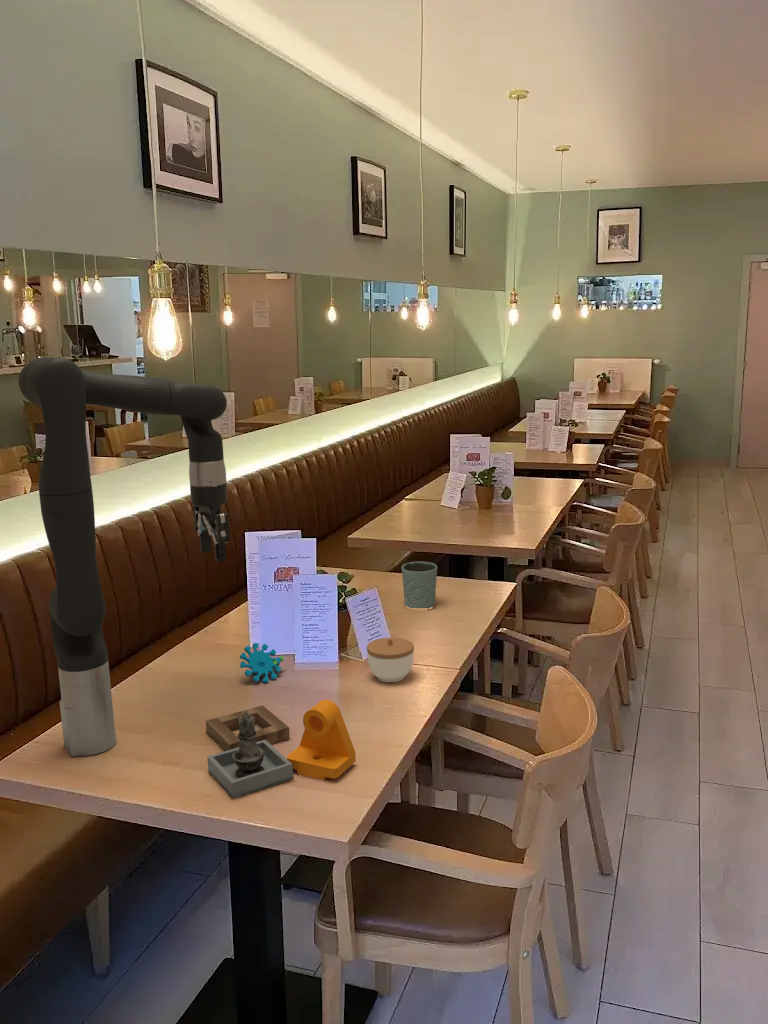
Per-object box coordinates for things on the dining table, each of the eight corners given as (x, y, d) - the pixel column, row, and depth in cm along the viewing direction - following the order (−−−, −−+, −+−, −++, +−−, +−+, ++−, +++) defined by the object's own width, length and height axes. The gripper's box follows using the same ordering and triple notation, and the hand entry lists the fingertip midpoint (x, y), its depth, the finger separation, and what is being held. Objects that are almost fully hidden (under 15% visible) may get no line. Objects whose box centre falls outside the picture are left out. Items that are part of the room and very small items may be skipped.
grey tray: (232, 798, 154) (231, 783, 153) (208, 771, 164) (207, 756, 163) (293, 779, 160) (292, 764, 159) (266, 754, 169) (265, 739, 169)
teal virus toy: (247, 682, 199) (236, 643, 204) (238, 694, 203) (228, 655, 208) (291, 677, 205) (280, 639, 210) (282, 688, 209) (271, 651, 214)
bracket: (285, 771, 163) (281, 710, 160) (306, 753, 169) (303, 695, 167) (336, 783, 158) (333, 721, 156) (355, 765, 164) (353, 704, 162)
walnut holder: (230, 756, 169) (229, 744, 168) (206, 732, 179) (205, 720, 179) (289, 739, 175) (289, 727, 175) (263, 716, 186) (262, 705, 185)
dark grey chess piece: (271, 766, 164) (267, 705, 161) (258, 782, 158) (254, 719, 155) (241, 762, 165) (237, 702, 163) (228, 778, 160) (223, 716, 157)
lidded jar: (361, 684, 201) (359, 644, 199) (376, 666, 211) (375, 628, 209) (406, 689, 197) (405, 649, 195) (420, 671, 207) (419, 632, 205)
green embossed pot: (421, 599, 260) (420, 559, 257) (445, 606, 252) (444, 566, 250) (395, 606, 254) (394, 566, 251) (418, 615, 246) (417, 573, 243)
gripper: (179, 478, 189) (184, 552, 193) (203, 488, 177) (209, 567, 181) (212, 474, 193) (217, 547, 196) (238, 484, 181) (243, 560, 185)
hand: (213, 556), depth 189 cm, fingers open, 8 cm apart
